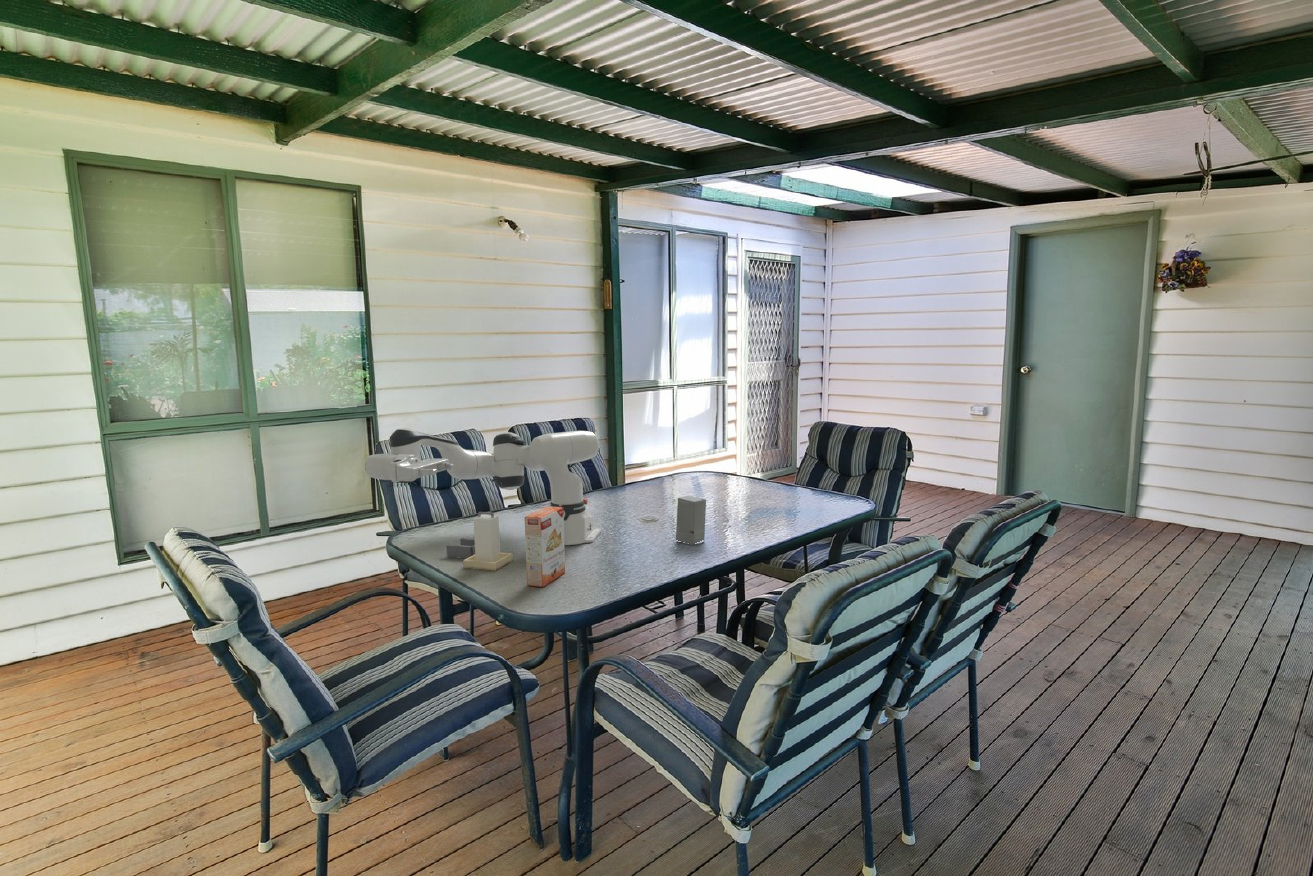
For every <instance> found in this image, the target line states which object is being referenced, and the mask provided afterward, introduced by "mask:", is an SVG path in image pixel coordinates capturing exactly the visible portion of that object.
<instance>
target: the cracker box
mask: <svg viewBox="0 0 1313 876" xmlns="http://www.w3.org/2000/svg"><path fill="white" fill-rule="evenodd" d="M524 533H525V535H524V538H525V539H524V540H525V563H526V564H525V566H526V568H525V569H526V585H527V586H532V587H538V588H544V587H546V586H547V585H549V584H550V583H552V582H553V581H555V580H556V579H558V578H560V577H561V576H563V575H564V574H566V563H565V562H566V560H565V559H566V557H565V556H566V555H565V554H566V553H565V552H566V551H565V545H564V508H562V507H550V506H549V505H548V506H546V507H543V508H541V509H538V510H536V511H534V512H532V513H530V514H528V515H525V516H524Z"/></svg>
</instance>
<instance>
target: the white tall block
mask: <svg viewBox="0 0 1313 876" xmlns="http://www.w3.org/2000/svg"><path fill="white" fill-rule="evenodd" d="M472 519H473V532H474V533H473V537H474V538H473V539H475V556H476V561H485V562H496V561H498V560H500V559H501V557H500V552H501V541H500V524H499V523H500V522H499V515H494V512H489V511H488V512H487V511H485V512H484V511H478V512H477V516H476V517H473V518H472Z"/></svg>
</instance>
